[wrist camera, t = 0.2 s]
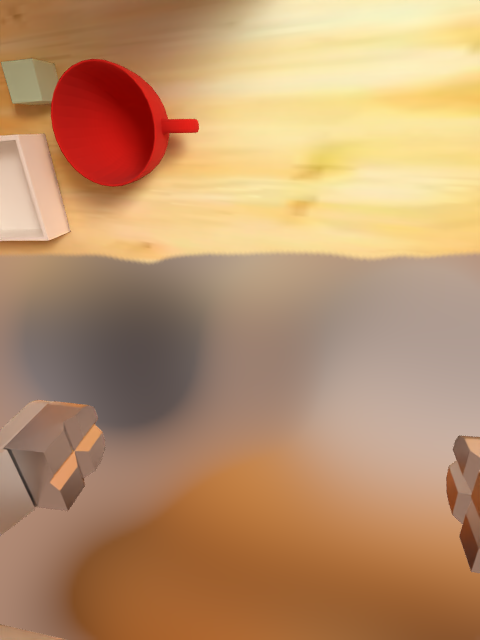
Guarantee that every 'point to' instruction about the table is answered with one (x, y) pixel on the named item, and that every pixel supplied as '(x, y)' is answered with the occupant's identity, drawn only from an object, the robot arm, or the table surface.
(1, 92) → the table surface
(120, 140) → the ceramic cup
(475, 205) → the table surface
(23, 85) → the sage cube
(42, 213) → the tub
